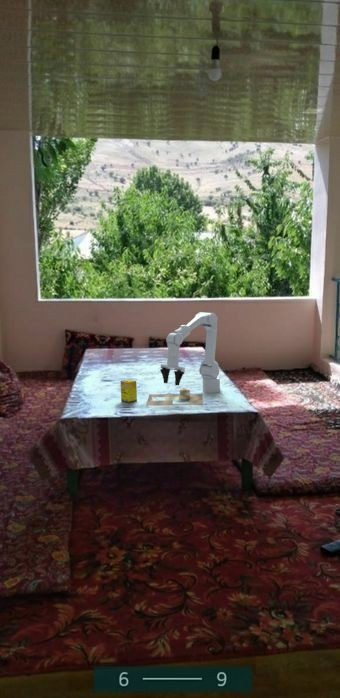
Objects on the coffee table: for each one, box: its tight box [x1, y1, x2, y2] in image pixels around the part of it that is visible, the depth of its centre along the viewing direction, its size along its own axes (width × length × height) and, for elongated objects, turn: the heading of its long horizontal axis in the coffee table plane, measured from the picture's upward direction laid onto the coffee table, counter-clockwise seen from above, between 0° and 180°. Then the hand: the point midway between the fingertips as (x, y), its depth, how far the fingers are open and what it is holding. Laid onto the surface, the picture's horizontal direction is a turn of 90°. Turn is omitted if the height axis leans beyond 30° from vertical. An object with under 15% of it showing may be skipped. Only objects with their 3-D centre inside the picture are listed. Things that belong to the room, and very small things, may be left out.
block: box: [179, 387, 191, 401], centre depth 268 cm, size 5×5×5 cm
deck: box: [145, 393, 204, 406], centre depth 267 cm, size 28×22×2 cm
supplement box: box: [120, 378, 138, 404], centre depth 270 cm, size 6×6×11 cm
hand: (171, 384), depth 262 cm, fingers open, 7 cm apart
